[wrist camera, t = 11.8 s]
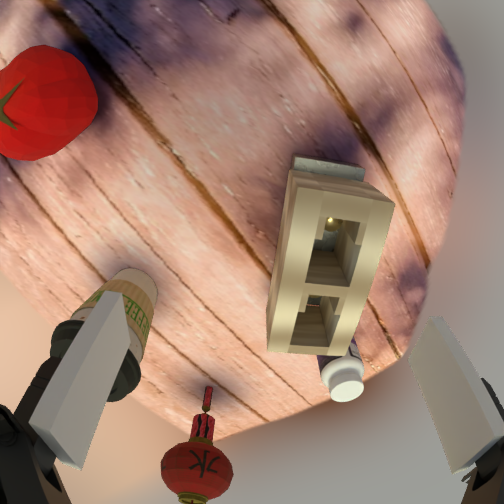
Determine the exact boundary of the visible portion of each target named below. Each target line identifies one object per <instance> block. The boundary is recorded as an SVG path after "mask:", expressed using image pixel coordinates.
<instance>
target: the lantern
mask: <svg viewBox="0 0 504 504" xmlns="http://www.w3.org/2000/svg"><path fill="white" fill-rule="evenodd" d="M212 392H213V388H212V387H210V386H207V387H206V388H205V394H204V400H203V406H202V410H203V411H204V412H205V413H202V414H197V415H195V416H194V418H193V424H192V429H191V435H190V439H189V441H188V442H184V443H179V444H178V445H176V446H174V447H173V448H171V449H170V450H169V451H167V452H166V453H165V455H164V457H163V459H162V460H161V476H162V479H163V481H164V482H165V484H166V485H167V487H168V488H169V489H170V490H171V491H173V492H174V493H176V494H177V495H178V497H179V501H180V502H181V503H183V504H206V502H207V501H208V500H210V499H213V498H216V497H219V496H220V495H221V494H223V493H224V492H225V491H226V490H227V489H228V488H229V486H230V483H231V480H232V477H233V470H232V465H231V463H230V461H229V460H228V459H227V457H226V456H225V455H224V453H222V451H220V450H219V449H217V448H216V447H214V446H213V442H212V440H213V432H214V424H215V419H214V418H213V417H212V416H209V415H208V414H206V412H208V411H209V410H210V405H211V399H212Z"/></svg>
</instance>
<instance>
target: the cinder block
mask: <svg viewBox="0 0 504 504" xmlns="http://www.w3.org/2000/svg"><path fill="white" fill-rule="evenodd" d="M394 207H395V203H394V202H393V201H391V200H390V199H389V198H388V197H386V196H385V195H384V194H382V193H381V192H380V191H379V190H377V189H376V188H375V187H373V186H372V185H371V184H369V183H367V182H362V181H357V180H352V179H346V178H341V177H335V176H329V175H323V174H317V173H311V172H304V171H298V170H291V169H289V174H288V181H287V187H286V194H285V200H284V206H283V213H282V219H281V225H280V231H279V237H278V243H277V249H276V255H275V261H274V267H273V273H272V279H271V285H270V290H269V296H268V302H267V307H266V325H267V351H269V352H281V353H295V354H310V355H330V356H345V355H346V352H347V350H348V347H349V345H350V343H351V340H352V337H353V335H354V332H355V330H356V327H357V324H358V322H359V319H360V316H361V314H362V311H363V308H364V305H365V303H366V300H367V297H368V294H369V291H370V288H371V285H372V282H373V279H374V276H375V273H376V270H377V267H378V264H379V260H380V257H381V254H382V250H383V247H384V244H385V240H386V237H387V233H388V230H389V226H390V222H391V219H392V215H393V211H394ZM327 217H329V218H336V219H342V220H343V223H342V225H341V227H340V228H339V230H338V235H337V239H336V243H335V247H334V251H333V252H329V251H321V250H313V244H314V239H319V240H322V237H323V233H324V228H325V223H326V219H327ZM309 295H319V296H322V298H321V301H320V305H319V306H307V301H308V297H309Z"/></svg>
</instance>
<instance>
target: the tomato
mask: <svg viewBox="0 0 504 504" xmlns="http://www.w3.org/2000/svg"><path fill="white" fill-rule="evenodd" d="M97 111H98V96H97V93H96V90H95V87H94V84H93V82H92V80H91V78H90V76H89V74H88V72H87V70H86V68H85V66H84V65H83V64H82V63H81V62H80V61H79V60H78V59H77V58H76V57H75V56H74V55H72V54H70V53H68V52H66V51H63V50H60V49H57V48H54V47H50V46H47V45H39V46H34V47H30V48H28V49H26V50H25V51H23V52H21V53H20V54H19V55H17V56H16V57H15V58H14V59H13V60H12V61H11V62H10V64H9V65H8V66H7V67H5V68H4V69H2V70H1V71H0V153H1V154H3V155H4V156H5V157H9V158H13V159H17V160H27V161H35V160H38V159H40V158H43V157H46V156H49V155H53V154H55V153H56V152H58V151H59V150H61V149H62V148H63V147H65V146H66V145H67V144H68V143H70V142H71V141H72V140H74V139H75V138H76V137H77V136H78V135H79V134H80V133H81V132H82V131H83V130H85V129H86V128H87V127H88V126H89V125H90V124H91V122H92V120H93V118H94V116H95V114H96V112H97Z"/></svg>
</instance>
